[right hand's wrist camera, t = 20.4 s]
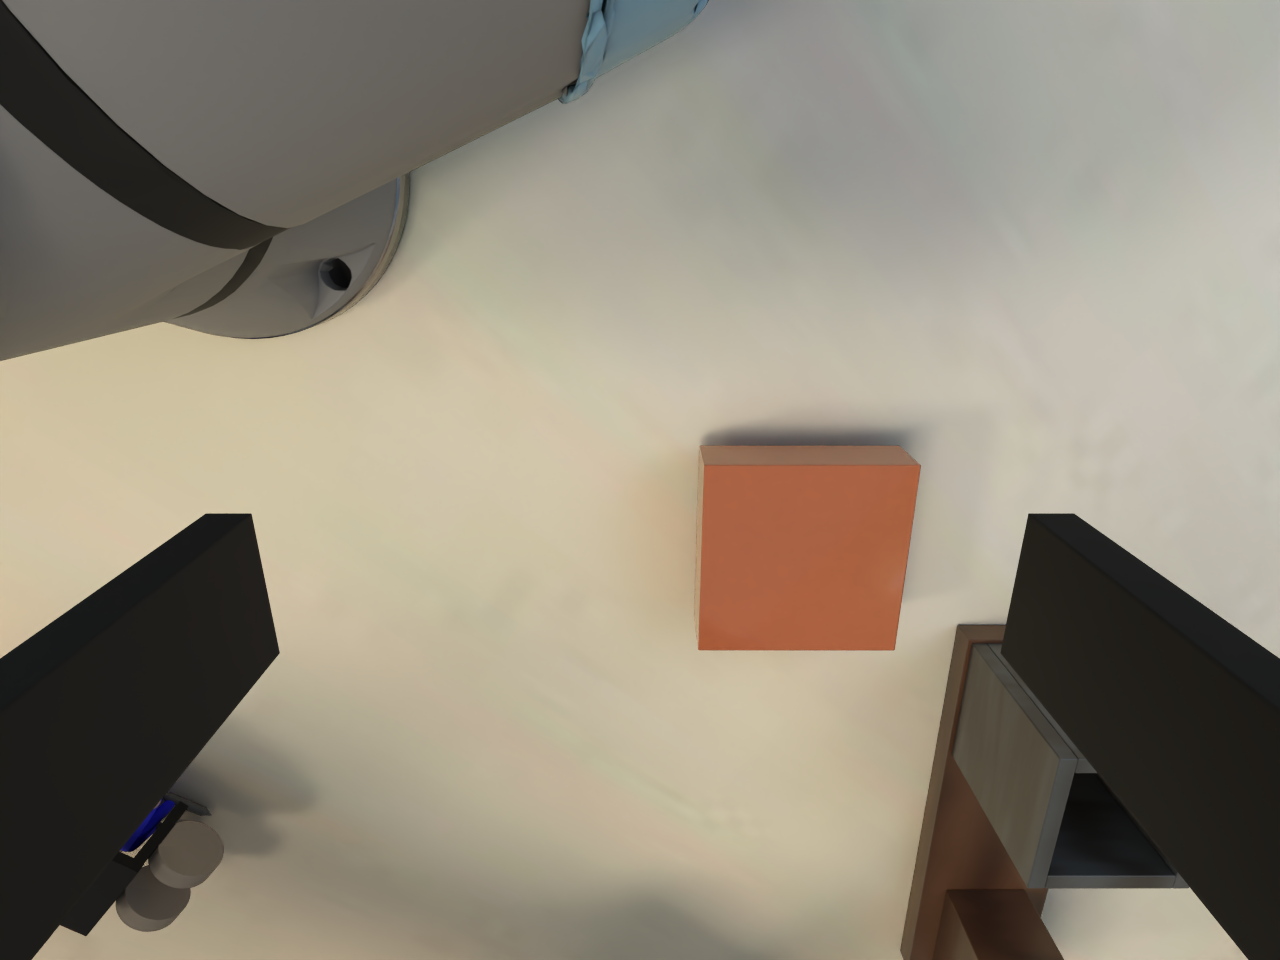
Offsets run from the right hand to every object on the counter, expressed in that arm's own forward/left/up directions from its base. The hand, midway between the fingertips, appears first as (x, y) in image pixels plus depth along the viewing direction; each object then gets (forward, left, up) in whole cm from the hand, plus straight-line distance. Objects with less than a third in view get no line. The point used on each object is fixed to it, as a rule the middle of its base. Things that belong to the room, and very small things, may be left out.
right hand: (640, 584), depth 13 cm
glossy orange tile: (+8, -10, -25) cm, 28 cm away
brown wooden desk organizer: (+22, -29, -25) cm, 44 cm away
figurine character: (-32, -27, -25) cm, 49 cm away
